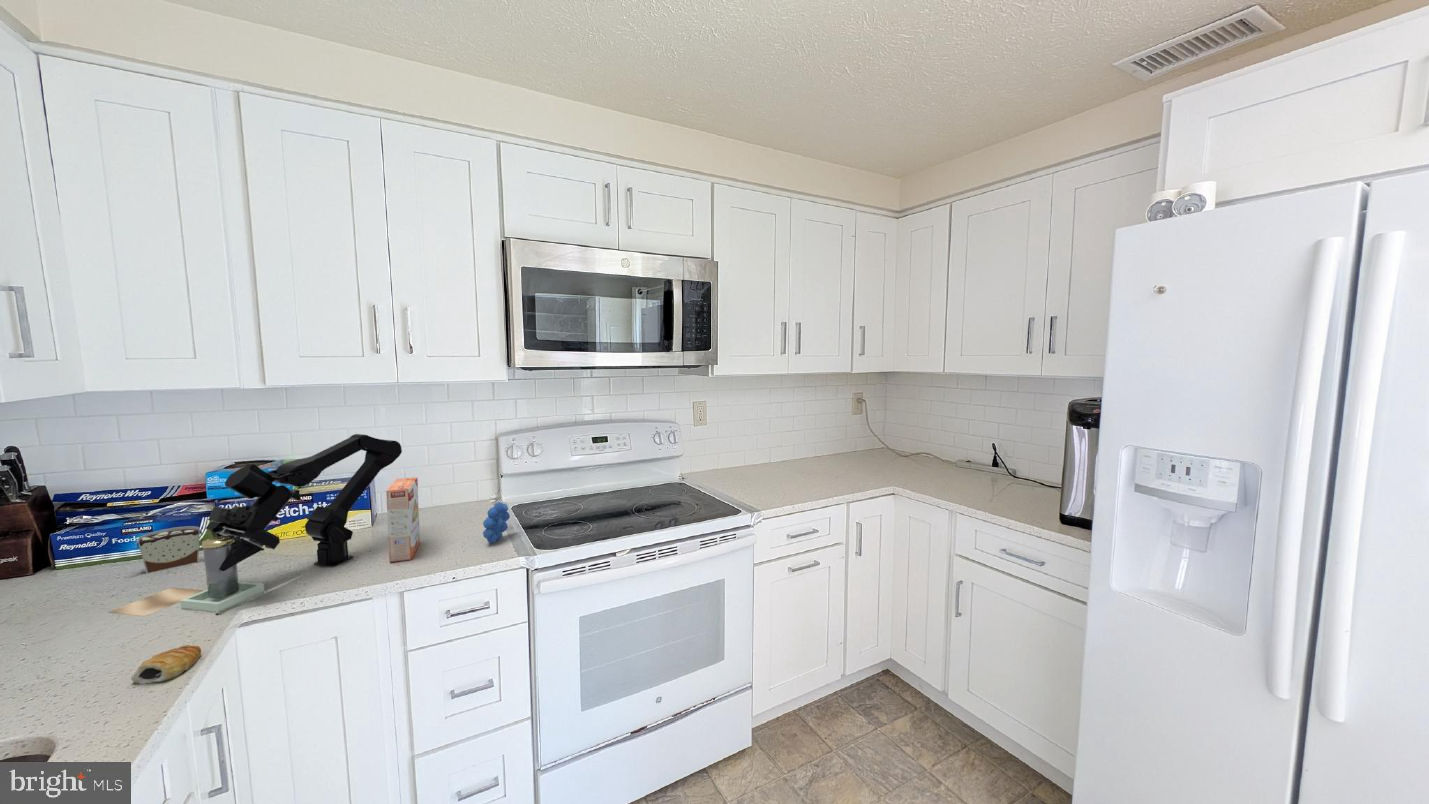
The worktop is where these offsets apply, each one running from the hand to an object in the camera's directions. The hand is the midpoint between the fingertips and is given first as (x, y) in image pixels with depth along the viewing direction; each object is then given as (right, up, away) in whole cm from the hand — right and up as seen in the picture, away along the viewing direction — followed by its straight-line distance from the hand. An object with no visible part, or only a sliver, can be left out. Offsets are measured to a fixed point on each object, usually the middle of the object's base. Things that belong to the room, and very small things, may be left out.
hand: (213, 568), depth 117 cm
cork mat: (-14, -9, +1) cm, 16 cm away
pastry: (+14, -12, -23) cm, 29 cm away
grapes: (+47, -5, +42) cm, 63 cm away
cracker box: (+25, -6, +32) cm, 41 cm away
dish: (0, -9, +2) cm, 9 cm away
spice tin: (0, -6, +2) cm, 7 cm away
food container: (-32, -7, +21) cm, 39 cm away
